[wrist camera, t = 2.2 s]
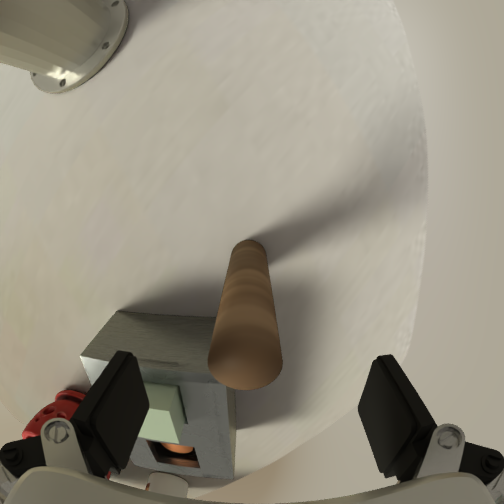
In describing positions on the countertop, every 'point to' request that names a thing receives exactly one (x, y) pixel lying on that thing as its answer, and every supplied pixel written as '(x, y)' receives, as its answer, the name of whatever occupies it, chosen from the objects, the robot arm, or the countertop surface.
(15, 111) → the countertop surface
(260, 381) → the stylus dowel
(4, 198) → the countertop surface
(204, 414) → the grey box
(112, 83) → the countertop surface
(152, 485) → the milk bottle
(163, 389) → the on button
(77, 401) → the plant pot
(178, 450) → the orange ball
